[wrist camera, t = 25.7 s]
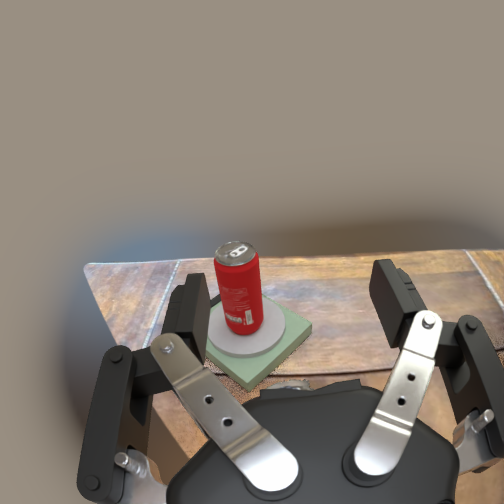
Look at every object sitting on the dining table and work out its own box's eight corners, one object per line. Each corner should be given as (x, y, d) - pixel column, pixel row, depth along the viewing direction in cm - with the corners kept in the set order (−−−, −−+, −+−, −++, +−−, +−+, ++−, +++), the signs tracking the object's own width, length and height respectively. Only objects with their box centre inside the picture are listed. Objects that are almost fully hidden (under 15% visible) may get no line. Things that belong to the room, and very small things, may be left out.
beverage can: (219, 323, 42) (203, 254, 35) (246, 304, 45) (237, 235, 38) (244, 344, 39) (232, 272, 32) (271, 322, 42) (267, 250, 35)
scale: (240, 290, 53) (238, 275, 51) (311, 333, 43) (312, 318, 42) (180, 333, 45) (174, 318, 43) (249, 392, 36) (246, 379, 34)
